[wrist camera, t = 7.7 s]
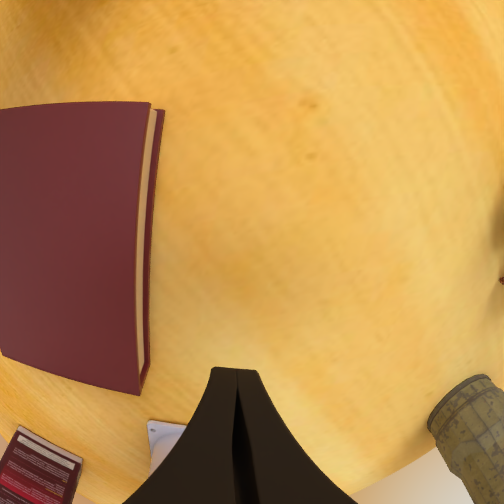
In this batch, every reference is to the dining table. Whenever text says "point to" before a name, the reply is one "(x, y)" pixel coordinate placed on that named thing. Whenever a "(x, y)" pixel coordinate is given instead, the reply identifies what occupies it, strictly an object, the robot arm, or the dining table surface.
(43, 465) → the supplement box
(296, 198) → the dining table surface
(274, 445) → the robot arm
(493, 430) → the thermos
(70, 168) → the book
